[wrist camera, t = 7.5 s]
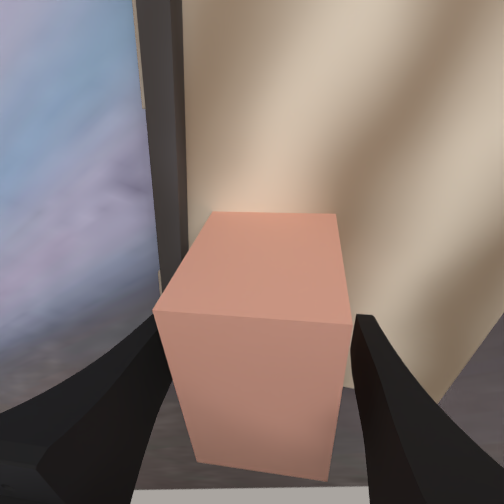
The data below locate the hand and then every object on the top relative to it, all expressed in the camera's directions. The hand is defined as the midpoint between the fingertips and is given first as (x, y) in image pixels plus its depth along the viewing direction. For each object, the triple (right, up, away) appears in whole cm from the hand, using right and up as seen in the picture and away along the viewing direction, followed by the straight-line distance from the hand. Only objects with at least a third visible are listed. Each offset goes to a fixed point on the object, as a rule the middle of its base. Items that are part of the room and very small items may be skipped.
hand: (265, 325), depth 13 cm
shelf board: (+4, +5, +1) cm, 6 cm away
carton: (0, +1, +2) cm, 2 cm away
